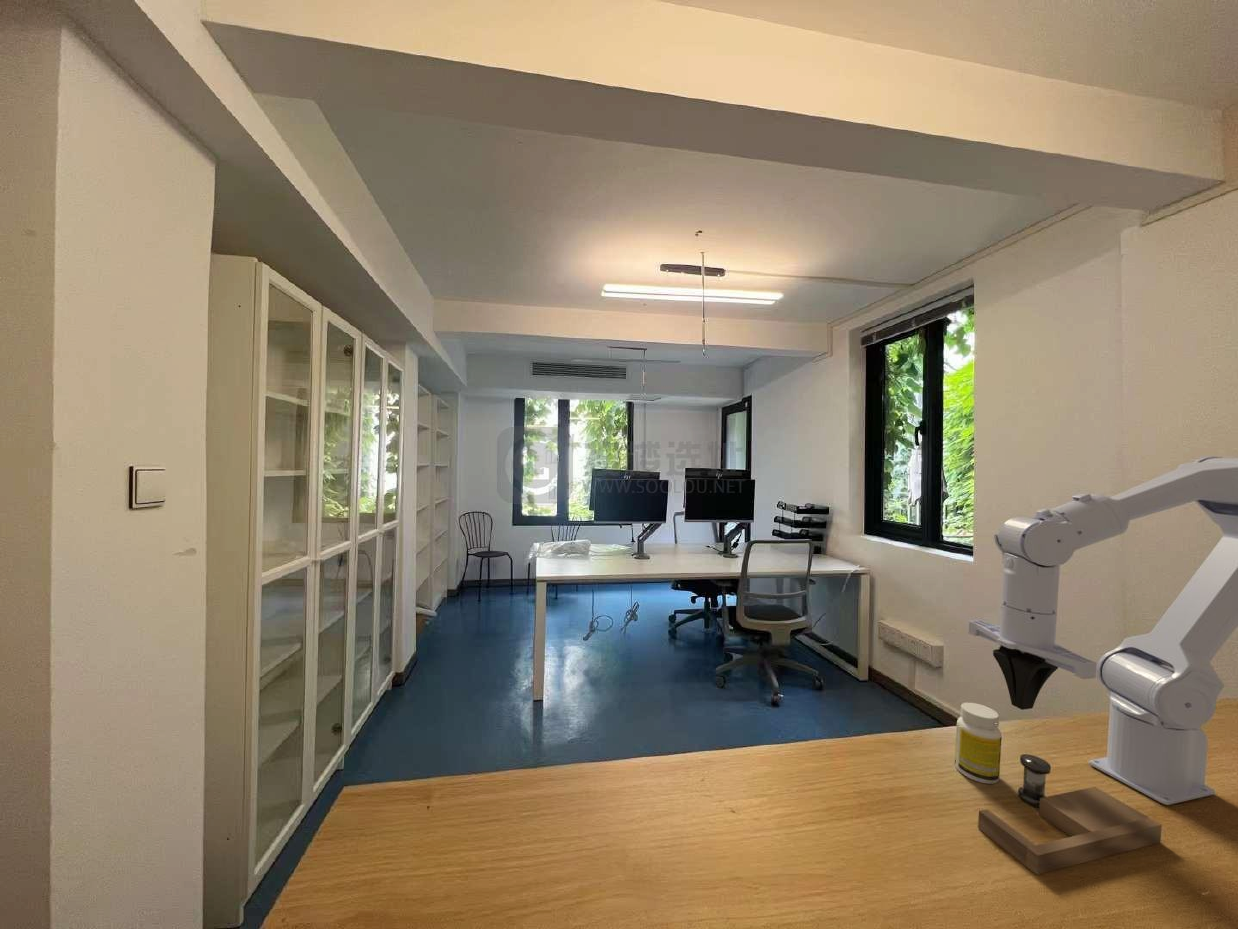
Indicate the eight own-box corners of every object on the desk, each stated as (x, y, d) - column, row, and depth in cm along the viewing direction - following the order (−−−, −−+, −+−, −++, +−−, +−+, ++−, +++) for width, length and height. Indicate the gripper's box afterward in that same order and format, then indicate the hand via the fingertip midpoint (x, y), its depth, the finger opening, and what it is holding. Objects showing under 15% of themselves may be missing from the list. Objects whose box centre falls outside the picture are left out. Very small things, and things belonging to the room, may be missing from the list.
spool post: (1029, 790, 60) (1031, 753, 60) (1054, 806, 57) (1056, 767, 57) (1012, 793, 59) (1014, 755, 59) (1037, 810, 56) (1039, 770, 56)
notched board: (1093, 803, 58) (1094, 786, 58) (1160, 842, 52) (1161, 824, 52) (977, 828, 53) (978, 811, 53) (1036, 875, 48) (1037, 855, 48)
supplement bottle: (1007, 788, 60) (1011, 722, 60) (965, 782, 61) (969, 717, 61) (986, 764, 65) (989, 703, 65) (947, 758, 66) (950, 698, 66)
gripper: (954, 592, 70) (949, 683, 71) (1069, 629, 56) (1062, 742, 57) (991, 590, 72) (986, 679, 72) (1111, 625, 58) (1104, 735, 58)
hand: (1022, 706), depth 65 cm, fingers closed
